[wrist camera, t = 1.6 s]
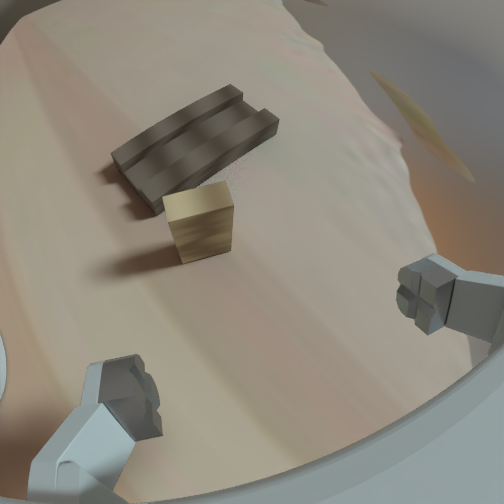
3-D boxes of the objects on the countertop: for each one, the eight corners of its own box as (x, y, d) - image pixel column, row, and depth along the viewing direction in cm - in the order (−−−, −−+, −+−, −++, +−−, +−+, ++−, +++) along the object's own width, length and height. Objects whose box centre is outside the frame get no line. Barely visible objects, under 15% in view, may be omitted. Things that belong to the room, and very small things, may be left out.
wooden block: (182, 263, 33) (167, 222, 24) (177, 243, 34) (162, 196, 25) (231, 250, 34) (233, 205, 25) (224, 230, 35) (225, 180, 26)
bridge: (156, 215, 35) (152, 202, 32) (116, 167, 37) (110, 153, 34) (276, 133, 41) (279, 119, 38) (229, 98, 43) (230, 84, 40)
